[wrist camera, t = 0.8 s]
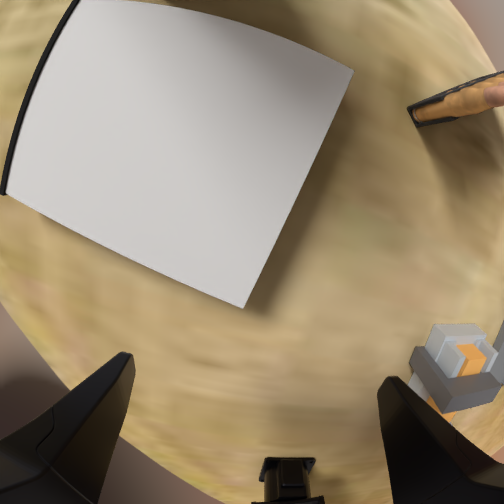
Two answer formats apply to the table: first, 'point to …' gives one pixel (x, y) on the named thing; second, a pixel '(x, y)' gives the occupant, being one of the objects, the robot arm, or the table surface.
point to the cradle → (453, 351)
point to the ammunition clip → (460, 101)
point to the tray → (499, 357)
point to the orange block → (464, 371)
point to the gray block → (453, 384)
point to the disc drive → (172, 137)
